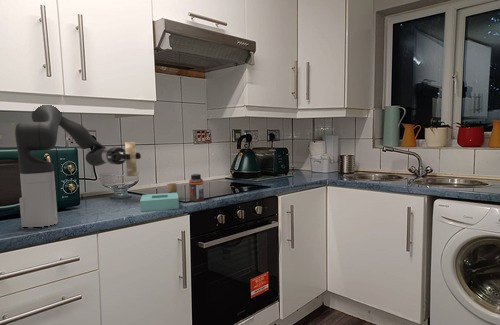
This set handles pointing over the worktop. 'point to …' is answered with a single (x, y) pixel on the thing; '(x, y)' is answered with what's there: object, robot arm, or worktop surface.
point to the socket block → (159, 202)
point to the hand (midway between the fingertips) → (134, 156)
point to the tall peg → (131, 159)
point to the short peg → (172, 188)
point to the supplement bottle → (196, 188)
